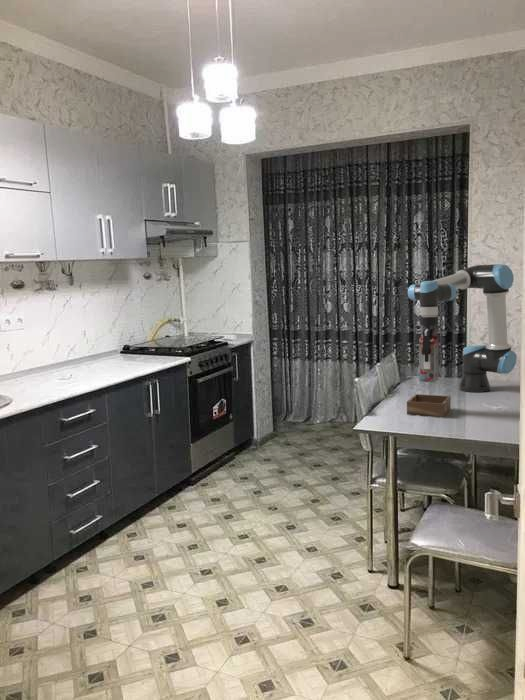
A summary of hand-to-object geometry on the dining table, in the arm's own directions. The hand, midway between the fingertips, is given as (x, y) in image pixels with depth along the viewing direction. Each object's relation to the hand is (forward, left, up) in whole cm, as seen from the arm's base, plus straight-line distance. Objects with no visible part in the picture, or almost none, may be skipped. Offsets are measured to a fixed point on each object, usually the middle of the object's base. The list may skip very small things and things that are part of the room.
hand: (428, 367), depth 263 cm
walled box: (0, 0, -21) cm, 21 cm away
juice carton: (0, 0, -6) cm, 6 cm away
